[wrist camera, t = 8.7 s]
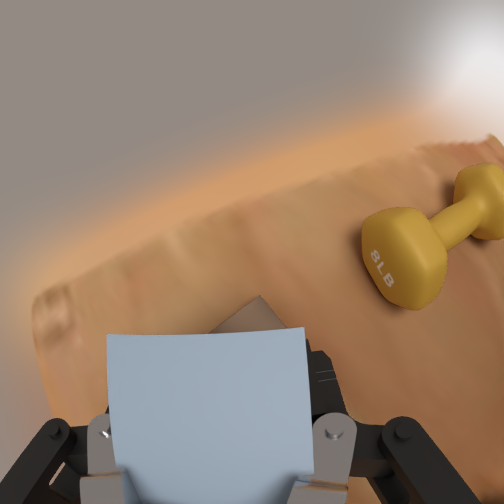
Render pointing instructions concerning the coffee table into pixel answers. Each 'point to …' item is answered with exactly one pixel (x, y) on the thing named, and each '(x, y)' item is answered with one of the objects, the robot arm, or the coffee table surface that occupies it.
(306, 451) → the pillar
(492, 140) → the coffee table surface
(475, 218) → the dumbbell
